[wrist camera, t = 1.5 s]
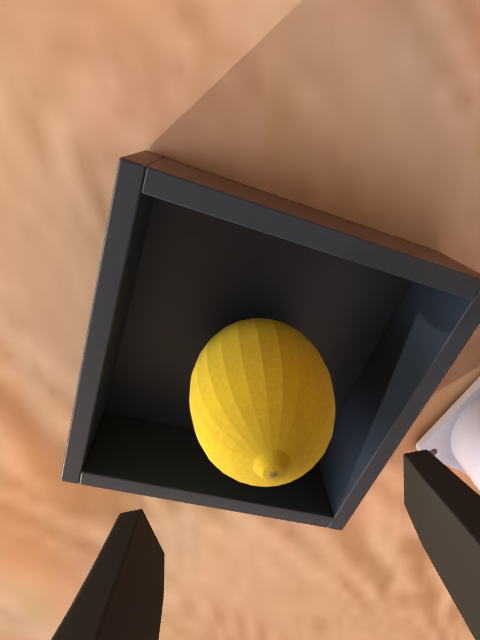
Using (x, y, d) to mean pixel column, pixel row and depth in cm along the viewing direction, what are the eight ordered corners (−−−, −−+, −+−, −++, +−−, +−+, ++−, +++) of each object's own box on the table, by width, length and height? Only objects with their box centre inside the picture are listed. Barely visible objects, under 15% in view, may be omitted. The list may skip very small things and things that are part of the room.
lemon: (212, 276, 17) (210, 381, 10) (326, 308, 18) (398, 424, 11) (182, 376, 19) (162, 520, 12) (284, 399, 20) (321, 546, 13)
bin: (439, 252, 18) (504, 287, 14) (320, 462, 23) (342, 530, 19) (144, 149, 15) (119, 156, 11) (89, 414, 20) (59, 481, 17)
